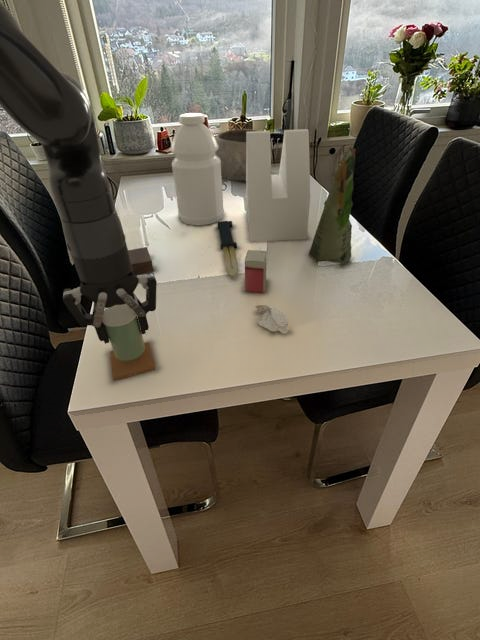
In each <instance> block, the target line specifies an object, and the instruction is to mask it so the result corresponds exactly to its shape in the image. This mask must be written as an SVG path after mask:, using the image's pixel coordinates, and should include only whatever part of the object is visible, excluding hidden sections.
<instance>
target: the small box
mask: <svg viewBox="0 0 480 640" xmlns="http://www.w3.org/2000/svg"><path fill="white" fill-rule="evenodd" d="M267 258H268V251H267V250H258V249H256V250H255V249H247V251H246V254H245V257H244V291H245V293H246V292H247V293H261V294H264V293H265V290H266V285H267V265H268V264H267V263H268V262H267V261H268V259H267Z"/></svg>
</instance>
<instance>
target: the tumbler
mask: <svg viewBox="0 0 480 640" xmlns="http://www.w3.org/2000/svg"><path fill="white" fill-rule="evenodd" d="M102 323H103V324H104V325H105V328H106V331H107V334H108V337H109V343H110V345H111V349H112V351H114V354H115V357H116V358H117V359H119V360H122V361H130V360H134V359H136V358H138V357H139V356H141V355H142V354H143V352H144V350H145V345H144V343H145V341H144V338H143V334H142V333H141V329H140V326H139V322H138V318H137V314H136V313H135V312H134V310H133V309H131V308H130V307H129V306H128V305H127V304H123V305H114V306H112V307H110V308H105V309H104V315H103V317H102Z"/></svg>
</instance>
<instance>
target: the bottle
mask: <svg viewBox="0 0 480 640" xmlns="http://www.w3.org/2000/svg"><path fill="white" fill-rule="evenodd" d="M178 116H179V117H178V121H179V124H180V126H179V127H178V129H177V130H176V131H175V133H174V135H173V137H172V141H171V145H170V153H172V154H173V155H174V158H173V159H172V161H171V169H172V176H173V181H174V189H175V196H176V203H177V210H178V211H177V213H178V215H177V216H178V219H179V220H180V221H181V222H182V223H183V224H187V225H191V226H206V225H211V224H215V223H217V222H219V221H221V220H222V219H223V217H224V215H225V209H224V197H223V179H222V178H223V177H222V176H221V161H220V158H218V156H217V155H216V151H217V150H218V149H219V146H218V144H217V141H216V139H215V138H216V136H215V134H214V133H213V132H212V130H210V128H209V127H208V126H206V125H205V124H204V123H205V122H206V118H205V115H204V113H200V112H187V113H182V114H180V115H178Z"/></svg>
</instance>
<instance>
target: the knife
mask: <svg viewBox="0 0 480 640" xmlns="http://www.w3.org/2000/svg"><path fill="white" fill-rule="evenodd" d="M216 223H217V230H218V231H219V237H220V238H219V239H220V250H222V252H223V259H224V265H225V270H226V272H227V274H228V275H229V276H230V277H231V278H233V279H235V277H236V276H237V274H238V272H239V265H238V261H237V256H236V251H235V250H236V249H238V244H237V242H236V241H234V238H233V234H232V230H231V229H233V221H232V220H219V221H217V222H216Z"/></svg>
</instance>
